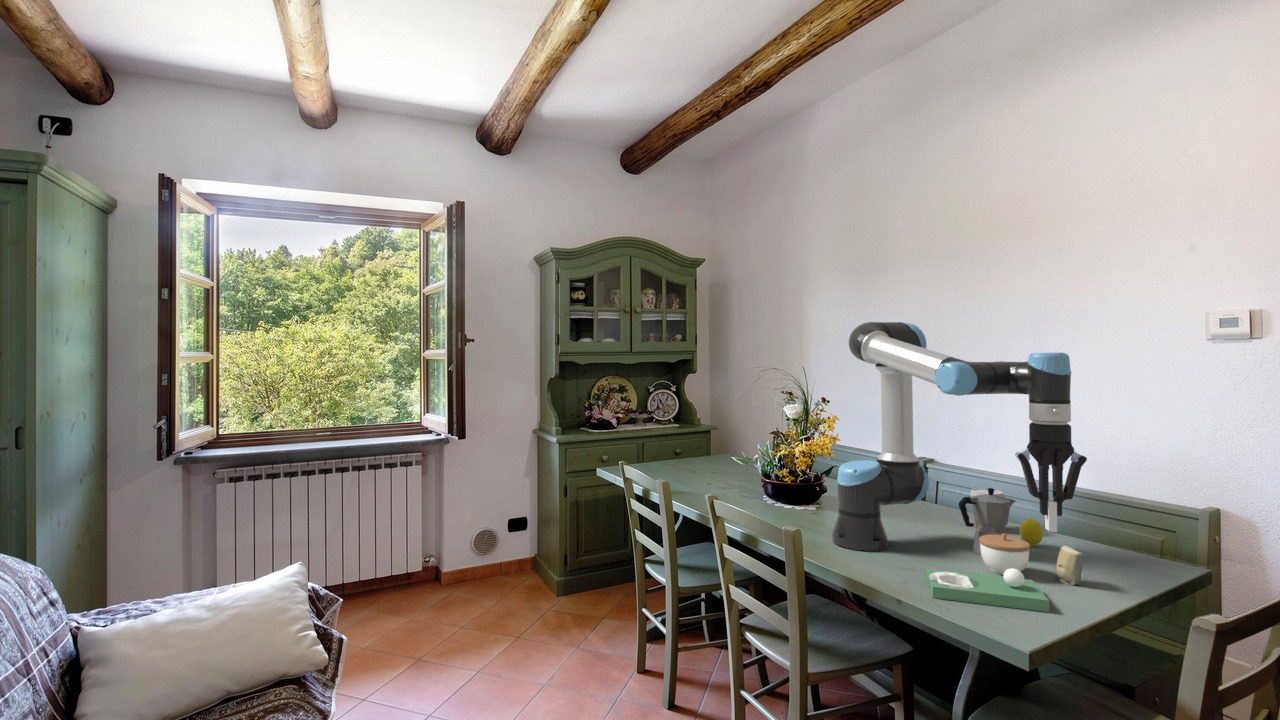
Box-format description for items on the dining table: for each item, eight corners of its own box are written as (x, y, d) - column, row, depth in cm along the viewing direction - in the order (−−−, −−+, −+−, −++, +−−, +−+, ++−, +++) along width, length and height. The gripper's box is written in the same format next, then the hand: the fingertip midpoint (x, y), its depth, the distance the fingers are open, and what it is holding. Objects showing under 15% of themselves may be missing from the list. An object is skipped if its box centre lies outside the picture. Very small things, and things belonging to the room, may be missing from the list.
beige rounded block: (1089, 584, 136) (1089, 550, 136) (1079, 588, 133) (1078, 554, 133) (1062, 576, 141) (1061, 543, 141) (1051, 580, 138) (1051, 547, 138)
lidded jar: (1031, 582, 137) (1030, 543, 137) (979, 574, 143) (978, 536, 143) (1029, 568, 146) (1028, 532, 146) (980, 561, 152) (979, 525, 152)
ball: (1005, 588, 127) (1005, 570, 127) (1001, 582, 131) (1001, 564, 131) (1026, 591, 126) (1026, 573, 126) (1021, 584, 129) (1021, 566, 129)
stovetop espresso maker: (1012, 533, 176) (1011, 494, 176) (980, 533, 176) (980, 494, 176) (993, 524, 185) (993, 487, 185) (963, 524, 185) (963, 487, 185)
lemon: (1035, 543, 166) (1035, 515, 166) (1047, 549, 161) (1047, 521, 161) (1015, 543, 167) (1015, 515, 167) (1026, 549, 161) (1026, 520, 161)
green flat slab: (932, 597, 129) (932, 586, 129) (926, 578, 140) (926, 568, 140) (1049, 612, 121) (1049, 600, 121) (1032, 590, 132) (1032, 580, 132)
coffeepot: (1004, 547, 163) (1004, 484, 163) (1026, 559, 153) (1026, 491, 153) (950, 548, 163) (949, 484, 163) (969, 559, 153) (968, 492, 153)
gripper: (1019, 423, 125) (1021, 532, 124) (1092, 425, 120) (1093, 538, 120) (1010, 420, 132) (1012, 523, 132) (1079, 421, 127) (1080, 528, 127)
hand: (1051, 530), depth 126 cm, fingers closed
